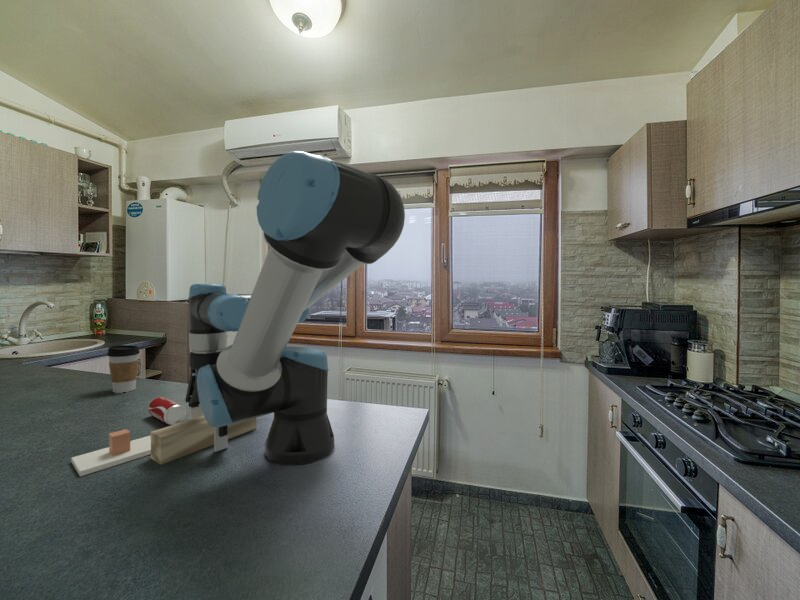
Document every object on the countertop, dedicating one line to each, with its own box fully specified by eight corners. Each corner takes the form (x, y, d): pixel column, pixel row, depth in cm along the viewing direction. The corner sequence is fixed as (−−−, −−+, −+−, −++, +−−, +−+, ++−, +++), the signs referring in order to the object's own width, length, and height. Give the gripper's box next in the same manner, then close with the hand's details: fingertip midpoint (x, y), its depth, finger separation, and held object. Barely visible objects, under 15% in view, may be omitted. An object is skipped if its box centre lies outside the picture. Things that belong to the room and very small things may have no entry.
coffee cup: (115, 387, 119) (114, 344, 118) (144, 386, 121) (143, 343, 121) (102, 395, 111) (101, 349, 110) (133, 393, 113) (133, 348, 113)
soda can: (170, 403, 89) (152, 394, 96) (160, 424, 87) (142, 413, 94) (190, 407, 93) (171, 397, 100) (181, 427, 91) (162, 416, 98)
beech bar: (256, 429, 89) (256, 406, 89) (160, 466, 71) (160, 437, 71) (246, 425, 92) (246, 402, 92) (150, 459, 73) (150, 431, 73)
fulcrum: (164, 449, 77) (164, 427, 77) (80, 476, 66) (79, 450, 66) (152, 439, 82) (151, 418, 82) (71, 462, 71) (71, 438, 71)
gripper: (251, 355, 76) (250, 451, 77) (202, 341, 91) (202, 421, 92) (215, 361, 70) (215, 464, 71) (169, 345, 85) (170, 430, 86)
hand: (208, 440), depth 82 cm, fingers open, 12 cm apart
